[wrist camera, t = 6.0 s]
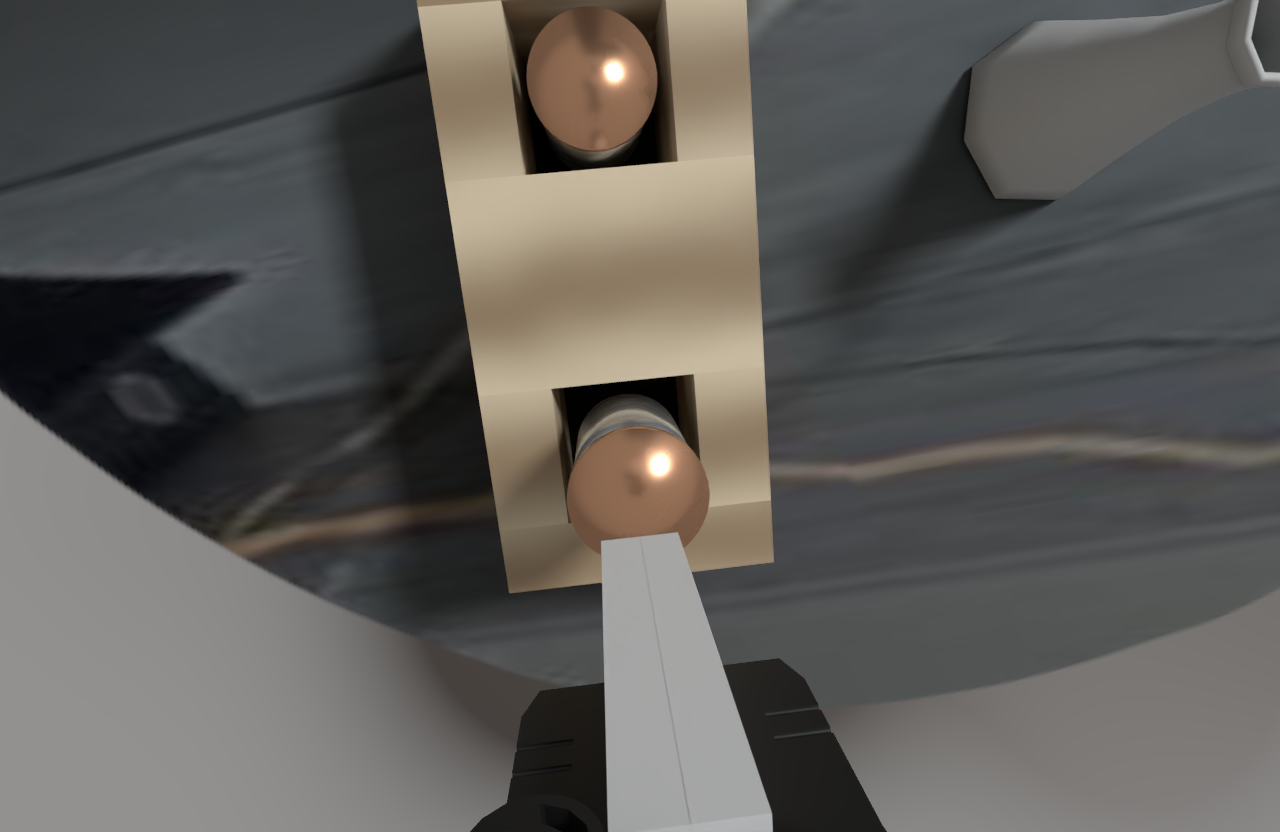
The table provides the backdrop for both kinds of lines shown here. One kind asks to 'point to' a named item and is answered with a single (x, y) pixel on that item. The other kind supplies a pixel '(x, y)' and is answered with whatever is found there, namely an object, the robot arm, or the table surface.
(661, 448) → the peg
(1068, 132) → the flask
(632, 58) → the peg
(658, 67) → the oak block
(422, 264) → the table surface
